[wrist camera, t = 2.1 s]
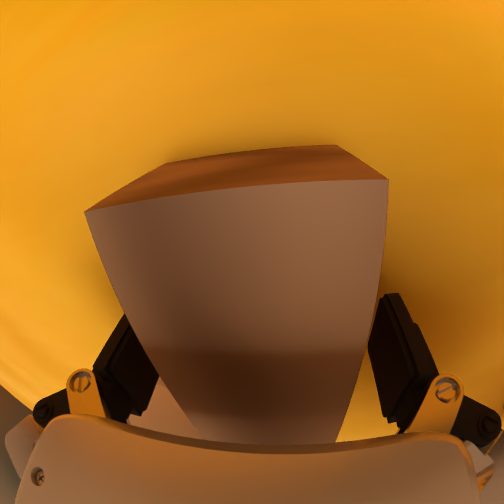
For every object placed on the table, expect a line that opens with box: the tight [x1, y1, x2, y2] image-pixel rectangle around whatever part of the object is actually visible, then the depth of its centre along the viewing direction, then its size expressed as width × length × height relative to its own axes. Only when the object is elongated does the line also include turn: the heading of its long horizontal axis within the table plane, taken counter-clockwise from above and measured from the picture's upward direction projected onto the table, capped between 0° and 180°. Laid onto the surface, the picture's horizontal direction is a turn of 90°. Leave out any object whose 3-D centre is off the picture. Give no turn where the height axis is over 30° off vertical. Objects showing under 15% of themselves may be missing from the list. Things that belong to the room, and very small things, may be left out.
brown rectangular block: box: [84, 145, 389, 445], centre depth 10 cm, size 6×13×5 cm, turn 7°
